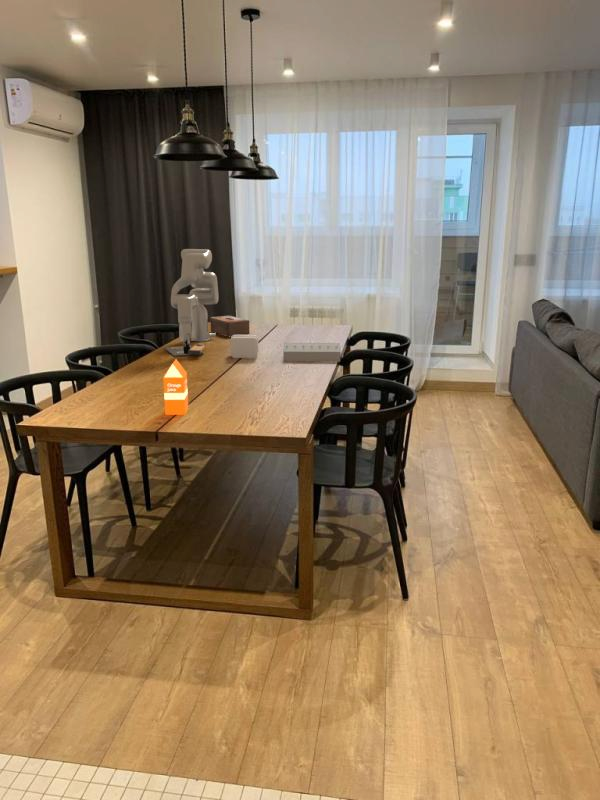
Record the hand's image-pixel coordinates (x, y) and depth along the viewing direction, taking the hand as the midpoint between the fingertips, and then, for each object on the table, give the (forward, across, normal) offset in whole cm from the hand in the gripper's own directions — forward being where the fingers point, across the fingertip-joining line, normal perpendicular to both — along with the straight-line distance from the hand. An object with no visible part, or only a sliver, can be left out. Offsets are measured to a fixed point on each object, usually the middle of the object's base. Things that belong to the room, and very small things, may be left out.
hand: (187, 353), depth 339 cm
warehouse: (+2, +30, +60) cm, 68 cm away
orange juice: (0, +98, -29) cm, 102 cm away
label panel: (+2, -14, +1) cm, 14 cm away
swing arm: (-1, -1, +6) cm, 6 cm away
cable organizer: (+2, +12, +28) cm, 31 cm away
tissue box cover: (+4, -61, +44) cm, 75 cm away
